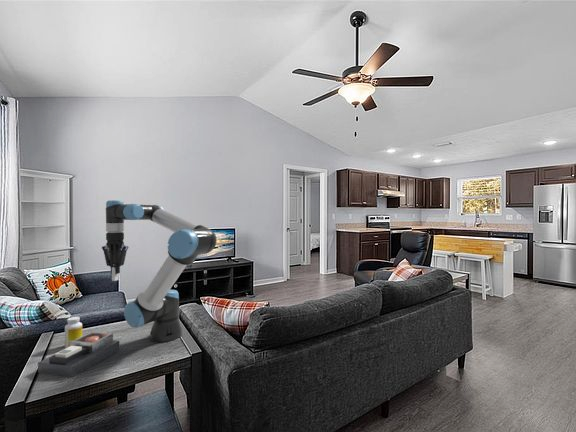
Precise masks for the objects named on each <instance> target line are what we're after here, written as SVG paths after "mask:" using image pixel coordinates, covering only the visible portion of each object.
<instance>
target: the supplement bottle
mask: <svg viewBox="0 0 576 432" xmlns="http://www.w3.org/2000/svg"><path fill="white" fill-rule="evenodd" d="M80 320H81V318H80V316H72V317H69V318H67V321H66V322H67V324H65V325H64V349H66V348H68V347H70V342H71V341H73V340H75V339H77V338H80V337H82V336H83V323H82V322H80Z"/></svg>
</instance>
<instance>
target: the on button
mask: <svg viewBox="0 0 576 432" xmlns="http://www.w3.org/2000/svg"><path fill="white" fill-rule="evenodd" d="M81 350H82V347H80V346H70V347H68V348H64V349H61V350H60V351H58V352H56V353H54V355H55V357H59V358H67V357H69V356H71V355H73V354H75V353H77V352H79V351H81Z"/></svg>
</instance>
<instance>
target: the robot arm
mask: <svg viewBox="0 0 576 432" xmlns="http://www.w3.org/2000/svg"><path fill="white" fill-rule="evenodd" d="M142 220H143V221H150V222H151V221H152V222H153V223H155V224H158V225H159V226H161V227H163V228H166V229H167V230H169V231H171V232H173V233H172V234H171V235H170V236H169V238H168V241H167V255H168V256H167V258H166V259H165V261H164V262H163V264H162V265H161V267H160V268H159V270H158V271H157V272H156V274H155V276H154V278H153V279H152V281H151V282H150V283H149V285H148V286H147V288H146V289H145V290H143V291H141V292H139V294H138V295H137V297H136V298H135V300H134V301H129V302H128V303H126V304H125V305H124V309H123V315H124V319H125V322H126V323H127V324H128V325H129V327H132V328H140V327H143V326H146V325H148V324H150V323H153V324H152V326H151V329H150V333H149V339H150V341H152V342H154V343H155V342H157V343H165V342H171V341H174V340H176V339H179V338H181V337H182V335H183V328H182V324H181V322H180V317H179V316H180V315H179V313H180V312H179V311H180V296H179V292H178V290H177V289H172V287H173V286H174V284H175V283H176V282H177V281H178V279H179V277H180V275H181V274H182V273H183V271H184V270H185V268H187V266H191V265H192V264H193V263H194V262H195V260H196V259H197V257H199V256H202V255H206V254H210V252H212V251H213V250H214V249H215V248H216V245H217V236H216V233H215V232H214V231H213V230H212V229H210V228H208V227H206V226H204V225H202V224H195V223H192V222H190V221H188V220H186V219H183V218H181V217H179V216H177V215H175V214H172V213H171V212H168V211H167V210H165V209H164V208H163V207H162V206H161V205H157V204H138V203H124V201H123V200H118V199H117V200H114V199H113V200H111V199H110V200H107V201H106V203H105V223H106V224H105V232H106V233H105V240H106V244H105V245H104V246H101V249H102V252H103V255H104V259H105V263H106V264H105V265H106V266H107V267H109V268H110V274H111V282H117V281H119V280H120V279H119V278H120V277H119V274H120V272H121V267H122V266H124V265H125V262H126V256H127V251H128V249H129V246H128V245H125V243H124V239H125V233H124V230H125V229H124V228H125V225H124V223H125V221H142Z"/></svg>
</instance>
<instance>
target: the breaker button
mask: <svg viewBox="0 0 576 432" xmlns="http://www.w3.org/2000/svg"><path fill="white" fill-rule="evenodd" d="M97 340H99V336H91V337H88V338H86V339H85V342H90V343H93V342H95V341H97Z"/></svg>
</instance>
